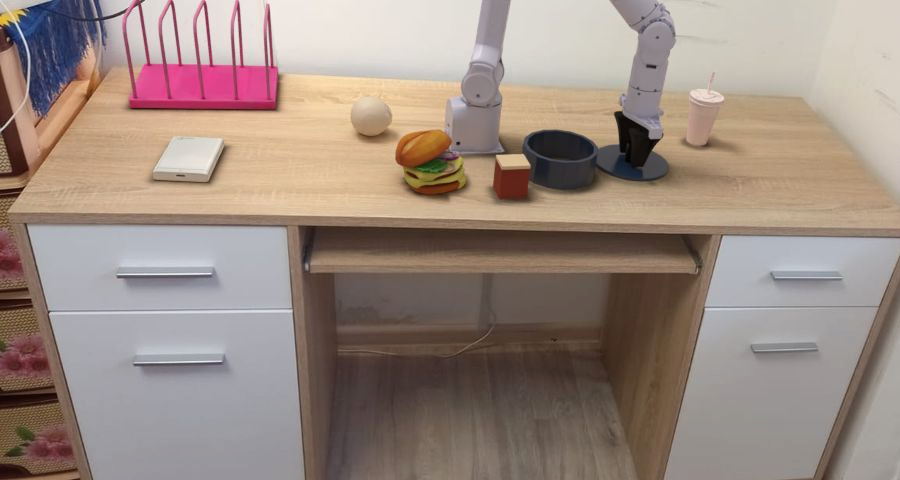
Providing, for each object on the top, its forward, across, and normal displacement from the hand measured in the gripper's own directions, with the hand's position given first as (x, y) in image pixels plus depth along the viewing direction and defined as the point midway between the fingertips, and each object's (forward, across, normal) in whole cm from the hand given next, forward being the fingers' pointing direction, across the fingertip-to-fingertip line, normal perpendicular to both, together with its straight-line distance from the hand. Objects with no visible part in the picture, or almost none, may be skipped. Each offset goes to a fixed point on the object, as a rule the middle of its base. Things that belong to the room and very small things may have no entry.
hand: (631, 159), depth 145 cm
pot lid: (+1, 0, 0) cm, 1 cm away
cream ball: (+2, +16, +43) cm, 46 cm away
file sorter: (+2, +36, +71) cm, 80 cm away
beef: (+1, -8, +24) cm, 26 cm away
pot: (+1, -2, +14) cm, 15 cm away
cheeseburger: (+2, -3, +36) cm, 36 cm away
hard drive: (+2, +7, +73) cm, 74 cm away
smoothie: (+2, +8, -17) cm, 19 cm away
